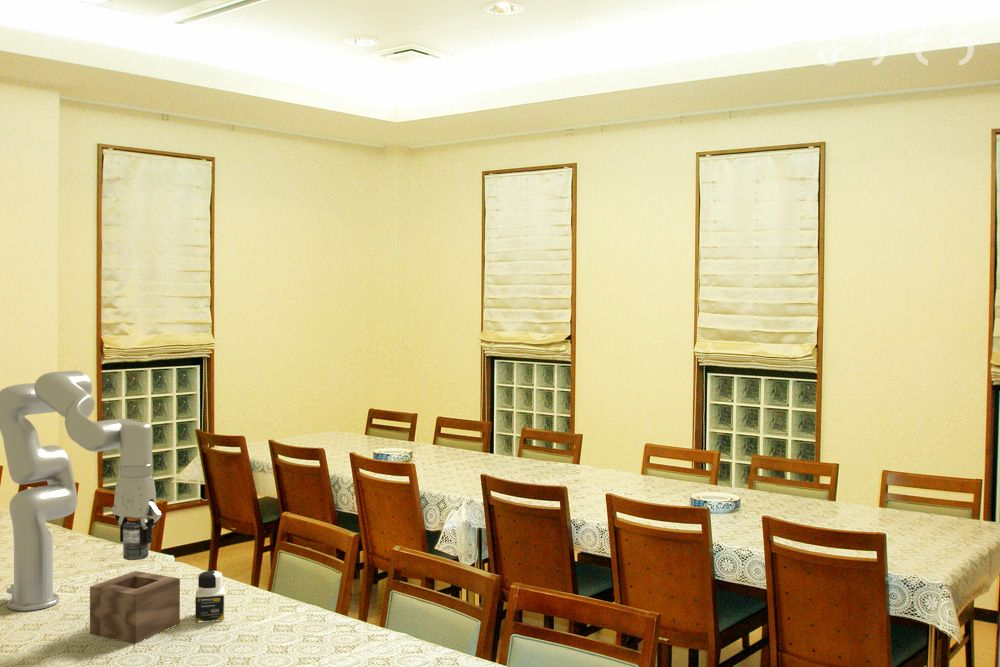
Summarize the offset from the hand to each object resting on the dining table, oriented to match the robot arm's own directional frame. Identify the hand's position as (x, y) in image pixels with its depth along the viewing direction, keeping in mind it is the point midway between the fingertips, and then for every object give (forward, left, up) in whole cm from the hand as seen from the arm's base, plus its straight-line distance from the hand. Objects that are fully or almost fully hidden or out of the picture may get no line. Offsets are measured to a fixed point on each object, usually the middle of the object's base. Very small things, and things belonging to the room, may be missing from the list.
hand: (135, 541), depth 235 cm
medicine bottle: (+11, +15, -23) cm, 29 cm away
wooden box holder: (0, 0, -22) cm, 22 cm away
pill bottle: (0, 0, -4) cm, 4 cm away
